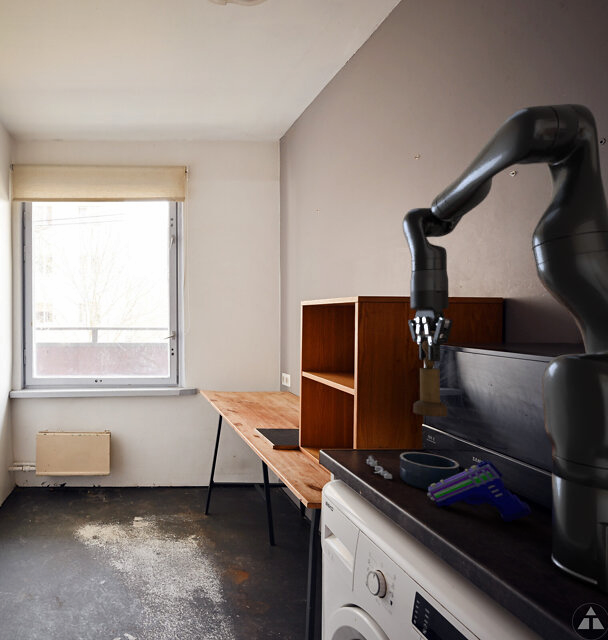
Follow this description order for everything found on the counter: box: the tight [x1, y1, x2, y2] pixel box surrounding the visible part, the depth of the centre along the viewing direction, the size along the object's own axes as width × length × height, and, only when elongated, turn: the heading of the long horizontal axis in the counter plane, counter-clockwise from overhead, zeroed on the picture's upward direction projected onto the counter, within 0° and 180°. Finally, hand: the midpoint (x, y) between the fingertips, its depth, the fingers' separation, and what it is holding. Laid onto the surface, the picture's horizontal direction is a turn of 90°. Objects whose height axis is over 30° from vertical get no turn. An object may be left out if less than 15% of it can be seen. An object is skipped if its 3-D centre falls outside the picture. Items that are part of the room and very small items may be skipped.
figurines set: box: [366, 454, 393, 480], centre depth 105 cm, size 12×3×3 cm, turn 170°
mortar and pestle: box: [413, 340, 448, 418], centre depth 100 cm, size 7×6×18 cm
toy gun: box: [427, 459, 532, 523], centre depth 82 cm, size 4×13×10 cm
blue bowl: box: [399, 451, 460, 491], centre depth 97 cm, size 11×11×6 cm
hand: (429, 360), depth 100 cm, fingers closed on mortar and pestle, 3 cm apart
